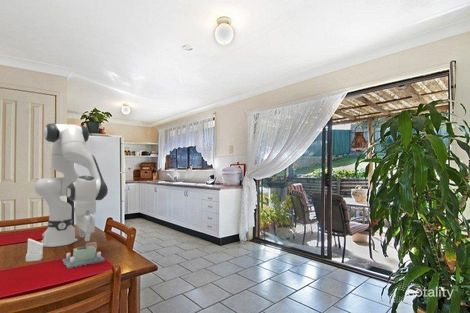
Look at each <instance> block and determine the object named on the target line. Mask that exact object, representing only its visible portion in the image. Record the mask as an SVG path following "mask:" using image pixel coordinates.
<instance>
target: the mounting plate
mask: <svg viewBox="0 0 470 313" xmlns="http://www.w3.org/2000/svg"><path fill="white" fill-rule="evenodd" d="M65 257H66V258H62V260H61V262H62V261H63V262H62V263H63V264H64V266H65V265H66V266H65V267H66V269H67V270H69V269H73V267H75V268H79V267H83V266H82V265H84V266H87V264H89V265H92V264H98V263H101V262H106V261H105V260H106V259H105V258H104V257H103V256H102V251H97V249H96V248H95V258H94V259H89V260H84V261H79V262H75V261H74V257H73V256H71V252H67V253H66V256H65ZM78 266H79V267H78Z"/></svg>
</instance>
